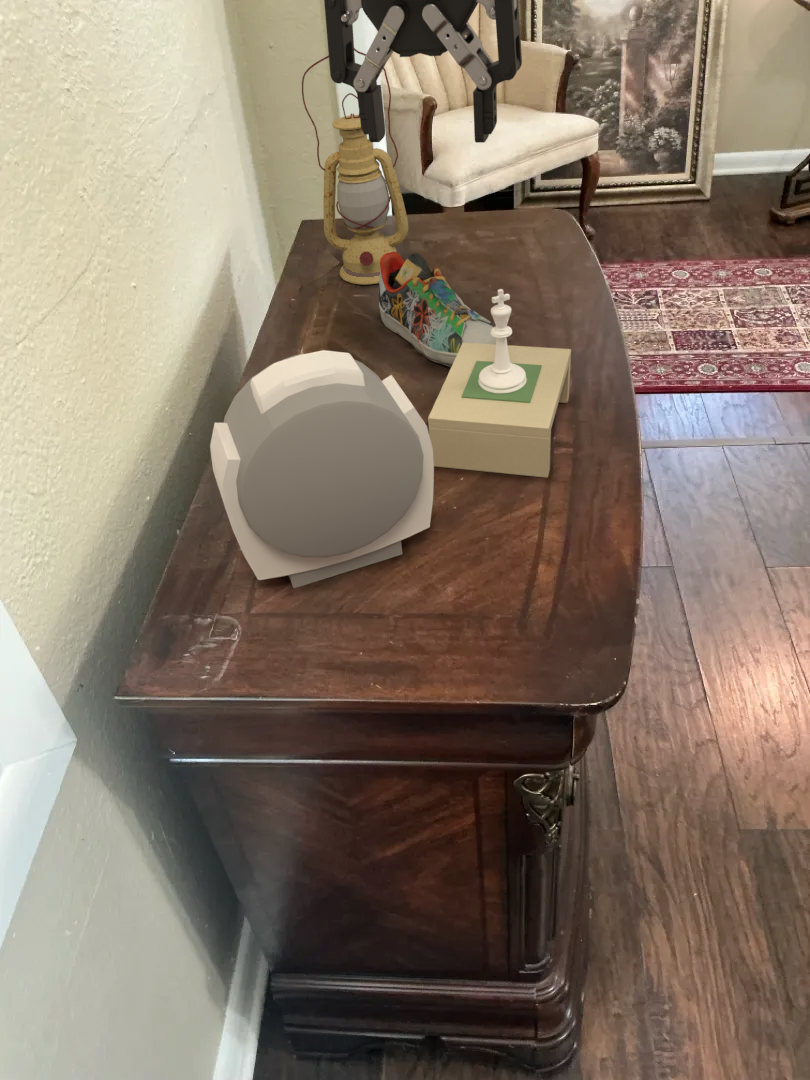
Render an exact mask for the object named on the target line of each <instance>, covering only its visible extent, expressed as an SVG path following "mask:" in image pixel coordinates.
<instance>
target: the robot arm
mask: <svg viewBox="0 0 810 1080" xmlns="http://www.w3.org/2000/svg"><path fill="white" fill-rule="evenodd" d="M323 3H324V4H323V5H324V15H325V28H326V40H327V49H328V50H327V51H328V55H329V58H328V63H329V75H330V79H331V81H332V82H334V83H335V84H344V85H347V86H350V87H352V88H353V89H354V91H355V92H356V96H357V97H358V99H357V104H358V115H359V114H360V122H361V129H362V131H363V133H364V134H367V135H368V139H369V140H370V142H373V143H380V142H381V141H382V140H383V139H384V138H385V136H386V122H385V114H384V113H385V111H384V103H383V93H382V85H381V84H378V79H379V78H380V76H381V74H382V72H383V71H384V70H383V68H385V67H386V65H387V62H388V61H389V59H390V58H391V57H392V56H393V54H394V53H395V54H396V55H397V54H398V55H399V58H407V57H408V58H410V57H413V56H415V55H416V56H417V55H420V54H422V55H425V56H428V57H441V56H442V55H443V54H444V53H447V52H448V53H449V54H450V55H451V57H452V58H453V60H454V61H455V63H456V64H457V65H458V66H460V67H461V68H462V69H463V70H464V71H465V72H466V73H467V75H468V76H469V78H470V80H471V81H472V82H473V83H474V85H475V86H476V87H475V89H474V90H473V91H472V98H473V99H472V100H473V101H472V102H473V104H472V105H473V128H474V130H473V131H474V132H473V133H474V142H475V143H481V144H482V143H486V142H487V140H488V139H489V136H490V135H492V134H493V132H494V130H495V128H496V125H497V122H498V108H497V107H498V102H497V101H498V98H497V97H498V96H497V94H498V93H497V87H498V84H500V83H503V82H505V81H511V80H513V79H514V77H516V75H517V73H518V71H519V70H520V69H521V67H522V64H523V58H522V55H523V53H522V39H521V38H522V37H521V22H520V21H521V20H520V4H519V3H520V1H519V0H323ZM478 4H481V5H482V6H483V7H484V9H485V13H486V15H487V17H488V18H489V19H491V20H495V30H496V31H495V32H496V43H497V45H496V46H497V57H498V58H497V59H498V60H496V61H493V59H492V58H491V56H490V55H489V54H488V52H487V51H486V49H485V48H484V46H483V43H482V40H481V38H480V37H479V36H478V34H477V33H476V32H475V30H474V29H473V28H472V26H471V24H470V23H469V20H470V19H471V17H472V15H473V14H474V12H475V9H476V8H477V6H478ZM361 9H362V11H363V13H364V15H365V16H366V17H367V19H368V20H369V21H370V23H371V24H372V25H373V27H374V28H375V29H376V31H377V33H376V35H375V37H374V38H373V41H372V43H371V44H370V46H369V48H368V50H367V52H366V53H365V54H366V56H364V60H363V62H362V64H360V63H357V62H356V55H355V50H354V48H355V44H354V43H355V40H354V39H355V38H354V26H353V25H354V24H355V22H356V21H358V19H359V15H360V10H361Z"/></svg>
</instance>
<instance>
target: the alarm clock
mask: <svg viewBox="0 0 810 1080" xmlns="http://www.w3.org/2000/svg"><path fill="white" fill-rule="evenodd" d="M223 418H224V419H223V422H214V423H213V428H212V435H211V439H210V444H209V450H210V457H211V463H212V472H213V475H214V478H215V481H216V485H217V488H218V490H219V493H220V497H221V500H222V503H223V506H224V509H225V512H226V514H227V515H226V516H227V518H228V521H229V523H230V527H231V529H232V532H233V535H234V537H235V539H236V541H237V543H238V545H239V548H240V550H241V552H242V555H243V557H244V559H245V560H246V562H247V563H248V565H249V568H250V569H251V570H252V572H253V574H254V576H255V577H256V579H257V580H258V581H264V580H268V579H274V578H281V577H286V576H288V579H289V580H290V583H291V585H292V588H293V589H297V588H300V587H303V586H306V585H307V586H308V585H309V584H314V583H316V582H319V581H322V580H326V579H328V578H332V577H334V576H335V577H336V576H338V575H341V574H345V573H347V572H351V571H354V570H357V569H361V568H364V567H367V566H369V565H372V564H376V563H380V562H383V561H386V560H389V559H392V558H396V557H399V556H402V555H403V547H402V546H403V545H402V541H403V540H405V539H407V538H410V537H412V536H414V535H417V534H418V533H422V532H423V531H425V530H427V529H429V528H430V527H431V522H432V521H431V519H432V511H433V504H434V481H435V478H434V477H435V466H434V464H433V448H432V444H431V440H430V436H429V428H428V426H427V424H426V423H425V421H424V419H423V418H422V416H421V415H420V414H419V412H418V410H417V409H416V407H415V406H414V405H413V403H412V402H411V401H410V399H409V397H408V396H407V395H406V393H405V392H404V391H403V389H402V388H401V386H400V384H399V383H398V382H397V381H396V379H395V377H394V376H393V375H392V374H390V375H388V376H387V377H385V378H384V379H382V380H381V378H380V377H379V375H378V374H376V373H375V372H374V371H373V370H372V369H371V368H369V367H368V366H367V365H365V363H363V362H361V361H359V360H356V359H354V357H353V356H352V354H351V353H350V352H343V351H335V350H325V349H323V350H318V351H313V352H308V353H300V354H294V355H291V356H288V357H286V358H284V359H281V360H278V361H276V362H273V363H271V364H270V365H268V366H267V367H265V368H263V369H262V370H261V371H259V372H258V373H256V374H254V375H253V376H252V377H251V378H249V380H248V381H247V382H246V383H245V384H244V386H242V388H241V389H240V390H239V391H238V392H237V394H236V395H234V397H233V399H232V401H231V404H230V405H229V408H228V409H227V411H226V414H225V415H224V417H223Z"/></svg>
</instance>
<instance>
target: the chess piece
mask: <svg viewBox="0 0 810 1080" xmlns="http://www.w3.org/2000/svg"><path fill="white" fill-rule="evenodd" d="M504 291H505V290H504V289H503V288H499V289H497V295H496V296H492V297H491V302H492V304H495V305H494V306H492V307H491V308H490V314H491V318H492V319H493V322H494V324H495V326H493V328H492V330H491V335H492V336H493V337H496V338H497V340H496V351H495V360H494V363H493V364H492V365H489V366H487V367H485V368H484V369H483V370H482V371H481V372H480V374H479V380H478V382H479V385H480V387H481V388H483V389H484V390H486V391H488V392H492V393H499V394H503V393H511V392H514V391H517V390H519V389H521V388H522V387H523V386H524V385H525V384H526V381H527V378H526V373H525V371H524V369H523V368H521V367H520V366H518V365H516V364H512V363H510V359H509V353H508V346H507V345H508V339H507V338H508V337H511V335H512V334H513V328H512V327H510V326H509V325H508V323H509V320H510V316H511V314H512V307H511V306H510V305H508V304H505V302H506V301H509V300H511V295H510V294H509V293H504Z"/></svg>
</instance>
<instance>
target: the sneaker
mask: <svg viewBox="0 0 810 1080" xmlns="http://www.w3.org/2000/svg"><path fill="white" fill-rule="evenodd" d="M445 277H446V276H443V275H442V272H441V270H440V269H439V268H438V267H437V266H434V267H433V269H432V271H431V269H430V267H429V265H428V262H427V261H426V260H425V258H424V257H423V256H422V255H421V254H419V253H418V252H413V253H412V254H411V255H410V256H409V257H407V258H406V260H404V259H403V257H402V256H401V254H400V253H399V252H397V251H396V252H390V253H386V254H384V255H383V256H382V257H381V259H380V280H379V283H378V285H379V286H378V308H379V313H380V318H381V321H382V323H383V324H384V326H385V327H386V328H387V329H389V330H390V331H391V332H393V333H395V334H397V335H399V336H401V337H402V338H403V339H404V340H405V341H407V342H408V343H410V344H411V345H412V347H413V348H415V350H416V351H417V352H418V353H419V354H421V355H422V356H423V357H424V358H425V359H428V360H429V361H432V362H434V363H438V364H440V365H443V366H446V367H449V368H451V367H452V365H453V363H454V360H455V358H456V356H457V354H458V352H459V349H460V347H461V345H462V343H478V344H495V345H496V340H497V338H496V337H493V336H492V335H491V330H492V328H493V327H494V326H493V323H492V322H491V321H490V320H489V319H487V318H485V317H484V316H483V315H481V314H479V313H478V312H476V310H473V309H471V308H470V307H468V306H467V305H466V304H465V303H464V302H463V300H462V298H461V297H459V295H458V294H457V293H456V292H455V290H453V289H452V287H451V285H450V284H449V283H448V282H447V280H446V278H445Z"/></svg>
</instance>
